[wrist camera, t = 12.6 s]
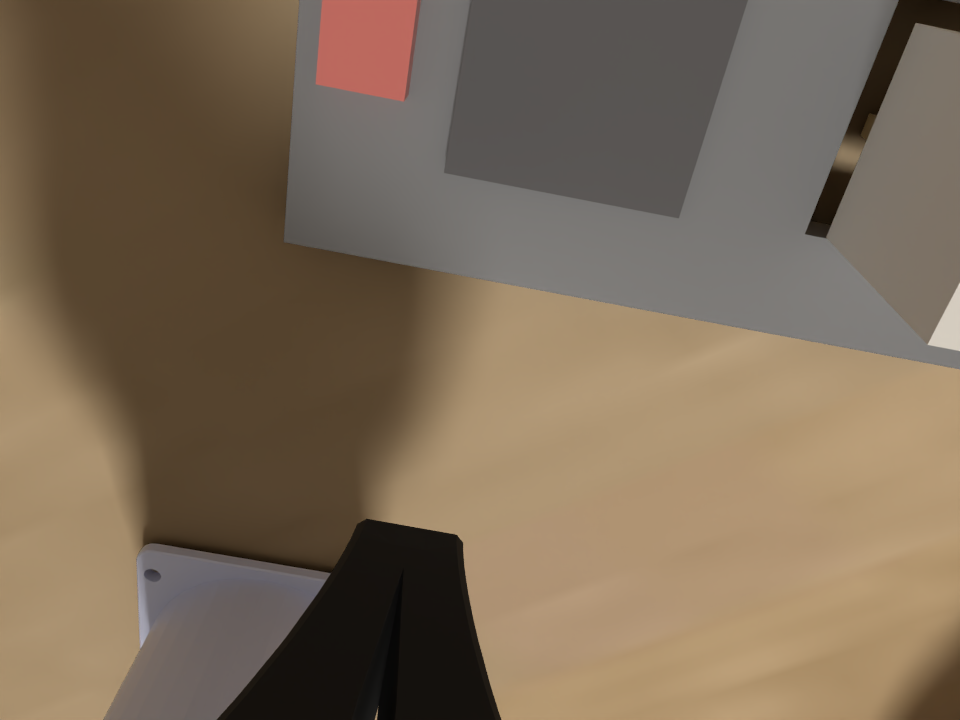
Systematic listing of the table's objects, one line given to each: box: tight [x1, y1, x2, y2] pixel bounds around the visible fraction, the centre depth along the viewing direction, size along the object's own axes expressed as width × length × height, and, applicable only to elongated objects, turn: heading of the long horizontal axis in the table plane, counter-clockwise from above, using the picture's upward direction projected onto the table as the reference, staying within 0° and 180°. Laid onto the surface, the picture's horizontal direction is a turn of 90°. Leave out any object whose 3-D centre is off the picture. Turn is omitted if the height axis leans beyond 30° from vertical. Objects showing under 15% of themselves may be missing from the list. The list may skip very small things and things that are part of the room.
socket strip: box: [284, 0, 960, 369], centre depth 17 cm, size 10×20×2 cm, turn 80°
